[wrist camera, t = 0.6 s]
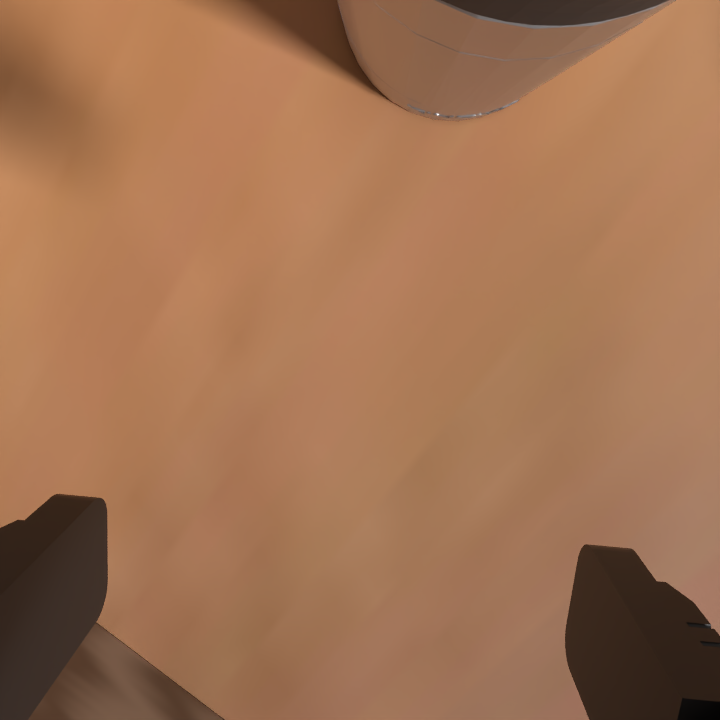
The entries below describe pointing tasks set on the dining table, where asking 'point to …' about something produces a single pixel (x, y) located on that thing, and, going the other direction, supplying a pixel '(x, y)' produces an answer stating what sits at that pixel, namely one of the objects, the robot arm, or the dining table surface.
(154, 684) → the walnut pillar
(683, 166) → the dining table surface
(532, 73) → the robot arm
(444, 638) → the dining table surface
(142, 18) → the dining table surface
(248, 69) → the dining table surface
